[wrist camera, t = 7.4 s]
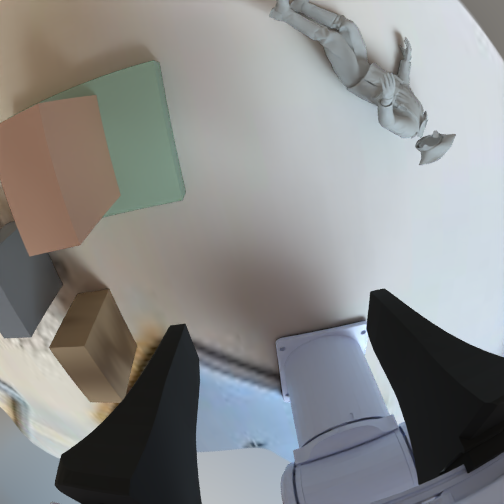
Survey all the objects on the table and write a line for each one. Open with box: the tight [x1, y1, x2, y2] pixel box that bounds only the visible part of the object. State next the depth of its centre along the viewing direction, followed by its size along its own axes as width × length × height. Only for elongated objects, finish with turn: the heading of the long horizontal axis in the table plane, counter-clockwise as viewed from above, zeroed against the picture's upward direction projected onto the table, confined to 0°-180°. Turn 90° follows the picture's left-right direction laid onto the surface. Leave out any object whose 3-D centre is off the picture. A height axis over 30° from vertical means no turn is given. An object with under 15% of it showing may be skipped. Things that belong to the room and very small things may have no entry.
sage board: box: [8, 60, 186, 218], centre depth 16 cm, size 8×10×2 cm
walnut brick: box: [49, 289, 137, 403], centre depth 20 cm, size 6×3×6 cm, turn 8°
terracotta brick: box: [0, 95, 121, 256], centre depth 12 cm, size 6×3×6 cm, turn 8°
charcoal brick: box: [0, 221, 63, 338], centre depth 17 cm, size 6×3×6 cm, turn 8°
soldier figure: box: [270, 0, 456, 165], centre depth 14 cm, size 8×5×12 cm
